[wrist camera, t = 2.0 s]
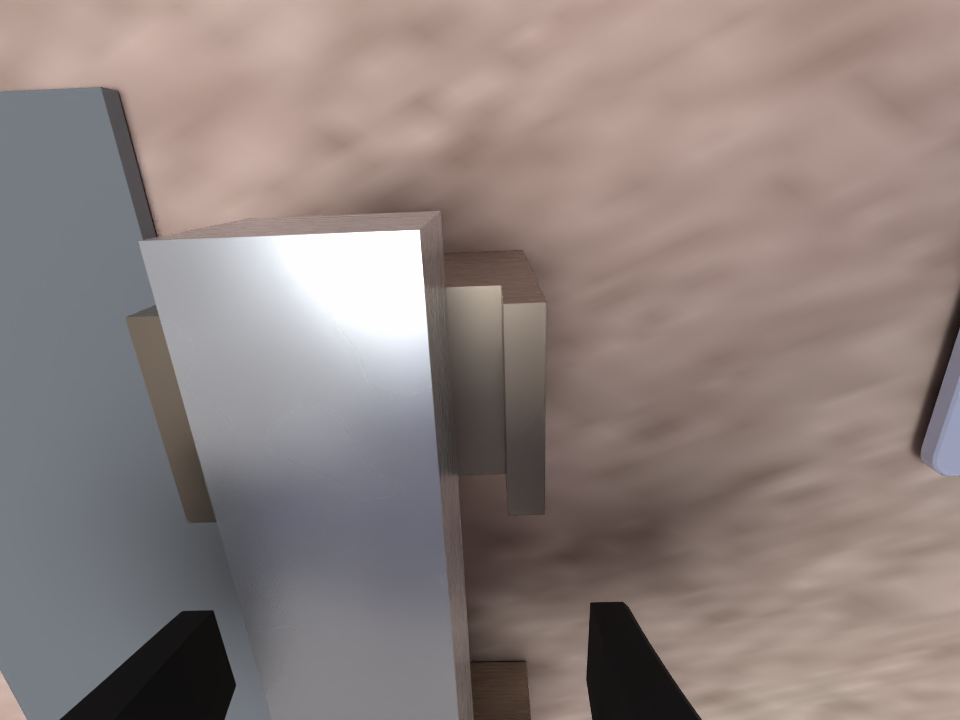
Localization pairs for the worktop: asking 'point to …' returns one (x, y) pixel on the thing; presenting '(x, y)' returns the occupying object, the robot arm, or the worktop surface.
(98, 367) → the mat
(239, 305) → the rail
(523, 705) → the post
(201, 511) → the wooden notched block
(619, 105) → the worktop surface
